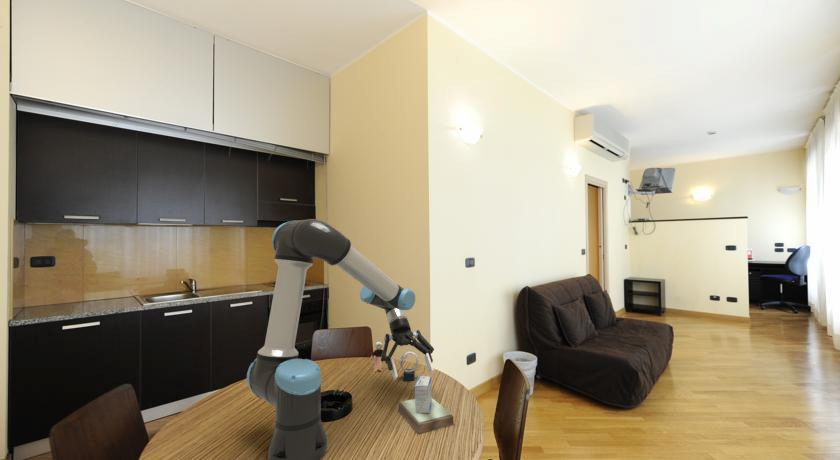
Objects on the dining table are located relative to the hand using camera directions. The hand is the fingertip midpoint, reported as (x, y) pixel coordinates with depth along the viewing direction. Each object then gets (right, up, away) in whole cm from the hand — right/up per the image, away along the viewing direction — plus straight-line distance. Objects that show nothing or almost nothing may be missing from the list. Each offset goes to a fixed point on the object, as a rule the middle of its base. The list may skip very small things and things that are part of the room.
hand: (414, 375), depth 121 cm
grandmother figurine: (-16, -12, +34) cm, 40 cm away
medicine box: (+3, -7, -8) cm, 11 cm away
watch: (-3, -12, +24) cm, 27 cm away
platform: (+4, -10, -8) cm, 14 cm away
